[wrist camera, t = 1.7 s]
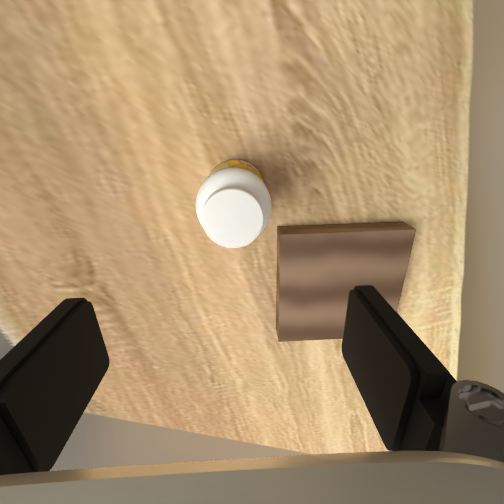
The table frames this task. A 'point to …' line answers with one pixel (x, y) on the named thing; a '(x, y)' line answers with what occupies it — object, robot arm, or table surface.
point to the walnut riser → (335, 273)
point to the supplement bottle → (233, 204)
